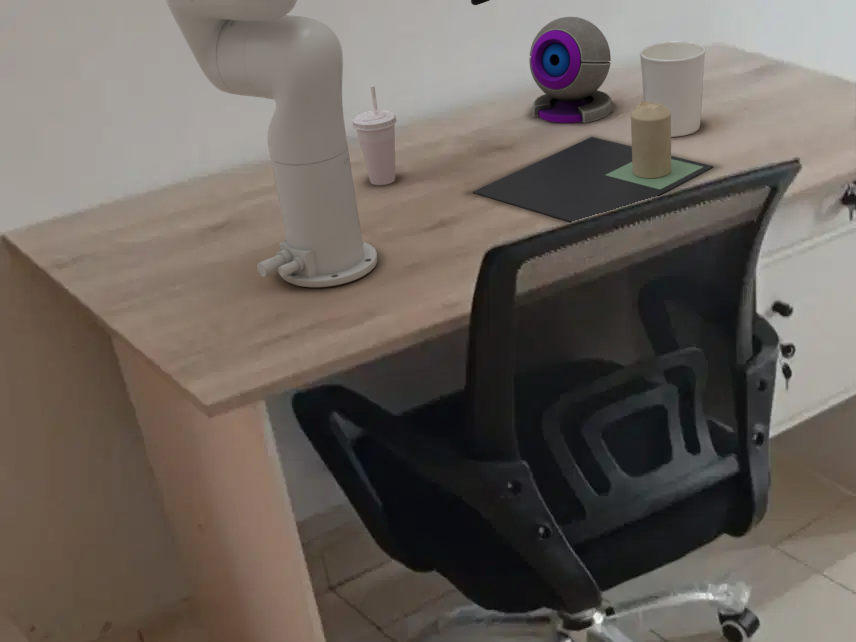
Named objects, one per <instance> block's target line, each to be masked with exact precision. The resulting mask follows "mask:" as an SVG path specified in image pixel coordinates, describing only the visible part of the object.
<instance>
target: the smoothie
mask: <svg viewBox="0 0 856 642" xmlns="http://www.w3.org/2000/svg"><path fill="white" fill-rule="evenodd" d="M370 92H371V100H372V107H373V110H368V111H364V112H363V111H362V112H361V113H358V114H356V115H354V116H353V117H352V119H351V121H352V128H353V129H354V130H355V132H356V135H357V139H358V143H359V146H360V149H361V153H362V157H363V160H364V164H365V168H366V171H367V174H368V178H369V181H370V184H371V185H374V186H385V185H389V184H392V183H394V182H395V181H396V127H395V124H397V116H396V113H395V112H394V111H392V110H386V109H378V103H377V101H378V100H377V95H376V94H377V93H376V86H375V85H370Z"/></svg>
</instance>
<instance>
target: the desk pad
mask: <svg viewBox="0 0 856 642" xmlns="http://www.w3.org/2000/svg"><path fill="white" fill-rule="evenodd" d="M712 169H714V165H711V164H707V163H703V162H698V161H695V160H689V159H687V158H682V157H677V156H675V155H674V156H673V155H671V172H670V173H669V174H667V175H665V176H663V177H658V178H642V177H638V176H636V175H634V173H633V166H632V145H628V144H623V143H619V142H615V141H611V140H608V139H607V140H606V139H603V138H598V137H594V136H590V137H589V138H586V139H584V140H581V141H580V142H577V143H575V144H573V145H570V146H569V147H566V148H565V149H562V150H560V151H557V152H555V153H554V154H551V155H549V156H547V157H545V158H543V159H541V160H539V161H536V162H534V163H532V164H530V165H527V166H525V167H523V168H520V169H519V170H516V171H514V172H512V173H510V174H508V175H505V176H503V177H501V178H500V179H497V180H495V181H493V182H490V183H488V184H486V185H483V186H482V187H480V188H477V189H475V190H473V191H472V194H475V195H479V196H481V197H485V198H488V199H492V200H495V201H498V202H502V203H505V204H508V205H512V206H514V207H518V208H522V209H525V210H528V211H531V212H535V213H537V214H542V215H545V216H548V217H552V218H555V219H558V220H562V221H565V222H568V223H571V222H572V221H575V220H579V219H582V218H585V217H589V216H592V215H595V214H599V213H603V212H607V211H610V210H613V209H616V208H619V207H622V206H626V205H629V204H632V203H635V202H638V201H641V200H645V199H648V198H651V197H655V196H658V195H660V196H662V195H664V194H666V193H668V192H669V191H671V190H673V189H675V188H678V187H679V186H681V185H682V184H685V183H687V182H689V181H690V180H692V179H694V178H697V177H698V176H700V175H702V174H704V173H705V172H708V171H709V170H712ZM661 194H662V195H661ZM658 197H659V196H658Z"/></svg>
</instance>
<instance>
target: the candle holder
mask: <svg viewBox="0 0 856 642" xmlns="http://www.w3.org/2000/svg"><path fill="white" fill-rule="evenodd" d="M706 52H707V50H706V47H705V46H704V45H702V44H701V43H697V42H694V41H693V42H692V41H685V40H671V41H661V42H657V43H651V44H649V45H645V46H644V47H642V49H640V51H639V59H640V70H641V82H642V83H641V84H642V95H643V101H645V102H654V103H657V104H659V103H661V104H662V105H664V106H665V107H666V108H667V109H668V110H669V111H670V112H671V138H676V137H684V136H688V135H692V134H694V133H696V132H697V131H698V130H699V129H700V127H701V120H702V110H703V109H702V108H703V91H704V75H705V62H706V61H705V59H706Z"/></svg>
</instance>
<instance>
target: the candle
mask: <svg viewBox="0 0 856 642" xmlns="http://www.w3.org/2000/svg"><path fill="white" fill-rule="evenodd" d="M630 126H631V127H630V128H631V129H630V130H631V131H630V133H631V146H632V166H633V173H634V175H636V176H638V177H642V178H658V177H663V176H665V175H667V174H669V173H670V172H671V156H672V137H671V112H670V111H669V110H668V109H667V108H666V107H665V106H664V105H662V104H661V103H659V104H657V103H654V102H645V101H644V100H643V101H641V102H640V103H639V104H638V105H637V107H635V108H634V109H633V110H632V112H631V113H630Z"/></svg>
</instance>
